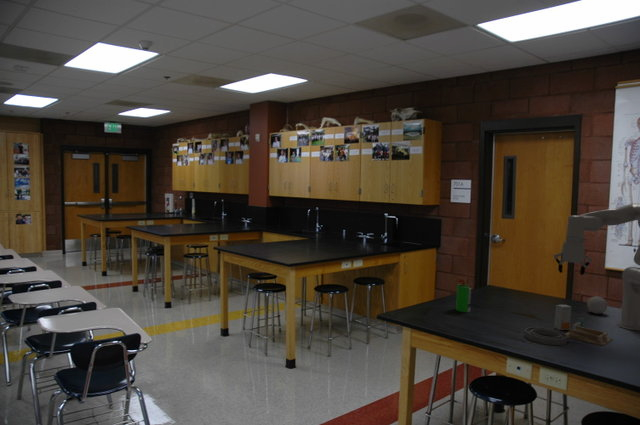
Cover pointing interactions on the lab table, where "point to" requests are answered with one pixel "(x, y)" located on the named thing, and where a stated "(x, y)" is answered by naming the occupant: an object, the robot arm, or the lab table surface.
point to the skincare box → (562, 317)
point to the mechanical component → (537, 333)
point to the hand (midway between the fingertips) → (570, 273)
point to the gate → (578, 324)
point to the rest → (589, 335)
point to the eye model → (597, 305)
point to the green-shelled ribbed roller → (463, 297)
